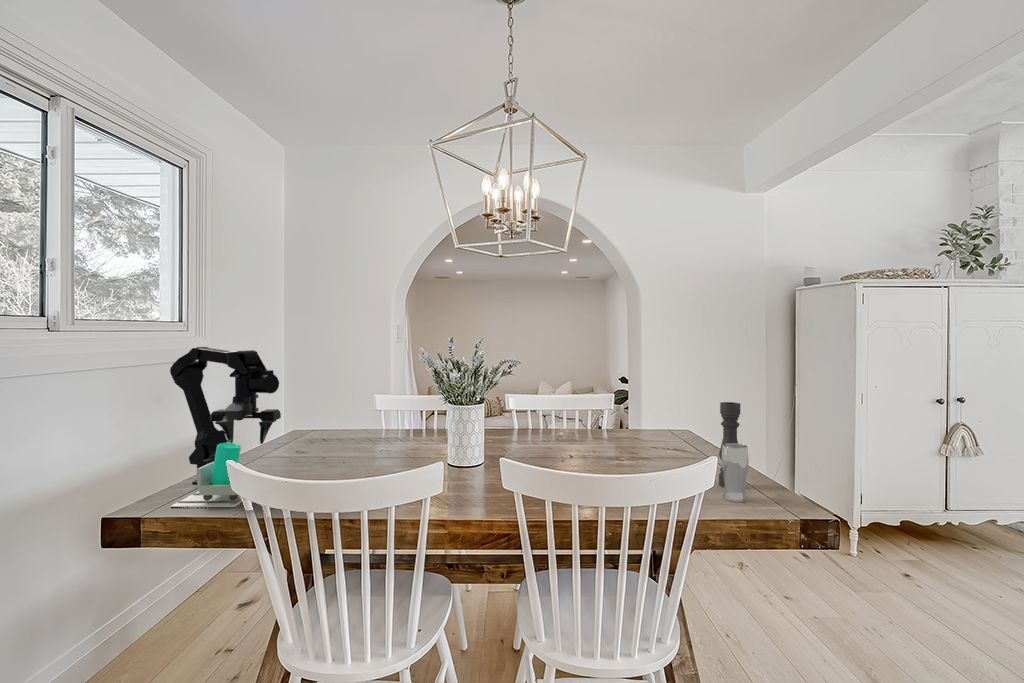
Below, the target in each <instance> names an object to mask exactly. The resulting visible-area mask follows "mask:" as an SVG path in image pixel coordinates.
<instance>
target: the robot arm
mask: <svg viewBox="0 0 1024 683" xmlns="http://www.w3.org/2000/svg"><path fill="white" fill-rule="evenodd" d="M208 362H212V363H217V364H222V365H223V364H224V365H227V367H228V368H230V369H231V370H233V371H232V372H231V373H230V374H229V377H230V378H234V388H235V389H234V396H232V402H231V403H229V405H228V406H226V408H224V409H218V410H214V411H212V412H210V408H209V407H208V402H207V400H206V396H205V392H204V390H203V387H202V383H203V379H204V370H206V368H207V367H208ZM169 373H170V375H171V377H172V380H173V382H174V384H175V385H177V387H179V388H180V389H181V390H182V391H183V393H184V396H185V399H186V402H187V405H188V409H189V412H190V415H191V418H192V421H193V425H194V427H195V428H194V429H195V430H196V436H195V440H194V447H195V448H194V450H193V451H192V453H191V454H190V455H189V456H188V462H189V463H190V465H196V469H197V468H200V467H202V466H204V465H206V464H209V463H211V462H214V460H215V454H216V449H217V445H218V444H220V443H233V442H234V429H235V428H234V424H235V421H243V420H244V419H259V420H261V421H260V422H258V425H259V427H260V428H259V429H260V430H259V444H260V445H263V444H264V443H265V439H266V438H267V436H268V433H269V431H270V429H271V427H272V425H273V423H275V422H277V420H280V419H281V418H282V417H281V415H282V414H281V411H280V410H279V409H278V408H277V409H274V408H273V409H264V410H262V411H260V412H259V407H257V399H258V398H259V394H274V393H276V392H277V391H278V389H279V385H280V380H279V379H278V377H277V375H276V374H274V370H273V369H269V370H268V369H267V368H266V365H265V363H264V362H263V361H262V359H261V357H260V356H259V353H258V352H257V350H253V349H251V350H235V351H233V350H225V349H219V348H211V347H209V346H196V347H195V346H194V347H193V348H190V350H189V351H188V352H187V353H185V354H184V355H182V356H181V357H179V358H177V359H176V361H175V362H174V363H172V366H171V367H170V368H169ZM257 393H258V394H257ZM215 425H218V426H220V427H221V428H222V429H221V430H220V429H219V430H218V429H217V428H216V426H215ZM233 444H234V443H233ZM192 483H197V479H196V480H194V481H191V484H192Z"/></svg>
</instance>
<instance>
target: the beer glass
mask: <svg viewBox="0 0 1024 683" xmlns="http://www.w3.org/2000/svg"><path fill="white" fill-rule="evenodd" d="M721 467H722V471H723V476H724V483H725V488H724V487H723V488H724V489H723V494H722V498H723V499H724V500H725V501H727V502H733V503H745V502H746V501H747V494H746V481H747V475H748V471H749V446H748V445H746V444H742V443H738V444H737V443H725V444H723V445H722V460H721Z"/></svg>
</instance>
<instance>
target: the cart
mask: <svg viewBox="0 0 1024 683" xmlns="http://www.w3.org/2000/svg"><path fill="white" fill-rule="evenodd" d="M213 465H214V462H211V463H209V464H206V465H204V466H202V467H200V468H197V467H196V480H197V484H196V492H199V495H204V496H203V498H204V500H206V501H208V500H210V499H212V497H213V495H230V496H229V498H230V500H232V501H234V500H236V499H237V498H238V495H237V494H236V493H234V492H233V491H232V489H231V485H214V484H212V483H211V476H212V471H213Z"/></svg>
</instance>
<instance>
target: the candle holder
mask: <svg viewBox="0 0 1024 683" xmlns="http://www.w3.org/2000/svg"><path fill="white" fill-rule="evenodd" d="M719 404H720V406H719V407H720V408H719V413H720V416H721V418H722V420H723V421H722V422H720V425H721V426H722V430H723V431H722V435H723V436H722V441H721V445H720V449H719V453H718V456H719V458H720V460H721V461H722V445H723V444H725V443H737V444H739V441H738V440H739V439H738V427H740V423H739V422H738V420H739V418H740V415H741V403H740V402H729V401H723V402H719ZM718 486H720V487H721V488H725V483H724V476H723V471H722V466H721V467H720V468H719V473H718Z"/></svg>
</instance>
